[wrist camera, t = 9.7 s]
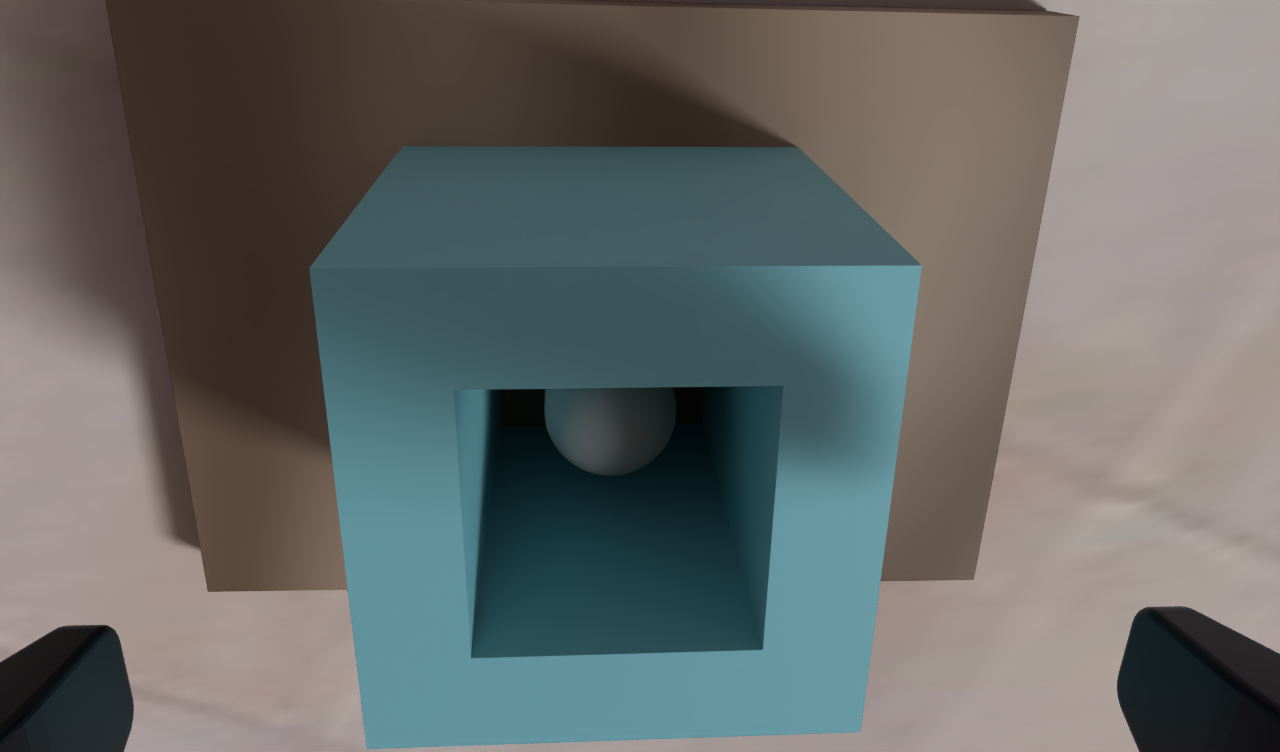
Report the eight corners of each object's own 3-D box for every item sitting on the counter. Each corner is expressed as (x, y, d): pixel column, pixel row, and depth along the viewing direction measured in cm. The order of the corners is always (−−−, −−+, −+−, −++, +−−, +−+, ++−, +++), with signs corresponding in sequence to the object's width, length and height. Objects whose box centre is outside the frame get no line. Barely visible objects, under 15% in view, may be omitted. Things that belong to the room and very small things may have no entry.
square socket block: (429, 494, 18) (367, 748, 12) (402, 146, 15) (308, 268, 10) (772, 487, 18) (861, 732, 13) (798, 146, 16) (921, 264, 10)
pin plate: (225, 560, 19) (120, 753, 15) (132, -11, 15) (-53, 15, 11) (955, 549, 20) (1066, 728, 16) (1050, 11, 16) (1236, 42, 12)
